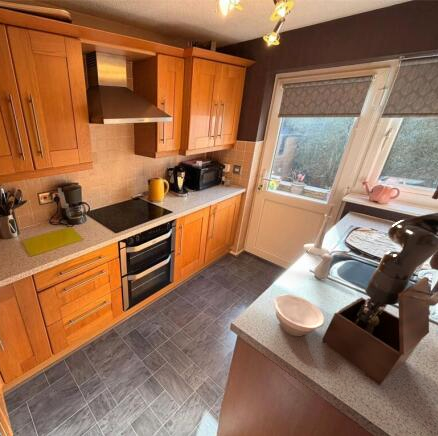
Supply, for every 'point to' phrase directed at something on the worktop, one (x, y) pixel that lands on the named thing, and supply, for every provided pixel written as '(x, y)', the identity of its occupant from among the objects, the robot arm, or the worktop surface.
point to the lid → (414, 313)
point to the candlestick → (320, 237)
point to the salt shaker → (323, 267)
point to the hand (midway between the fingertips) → (364, 324)
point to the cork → (370, 324)
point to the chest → (367, 342)
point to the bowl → (297, 315)
